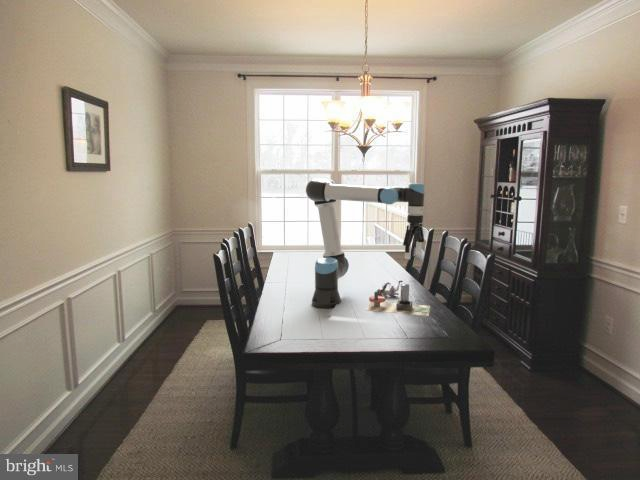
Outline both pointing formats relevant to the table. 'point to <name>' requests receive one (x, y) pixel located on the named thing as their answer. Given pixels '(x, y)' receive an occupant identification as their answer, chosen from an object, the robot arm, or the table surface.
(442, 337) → the table surface
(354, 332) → the table surface
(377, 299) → the handwheel
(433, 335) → the table surface
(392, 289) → the figurine
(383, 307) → the board
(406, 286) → the peg
